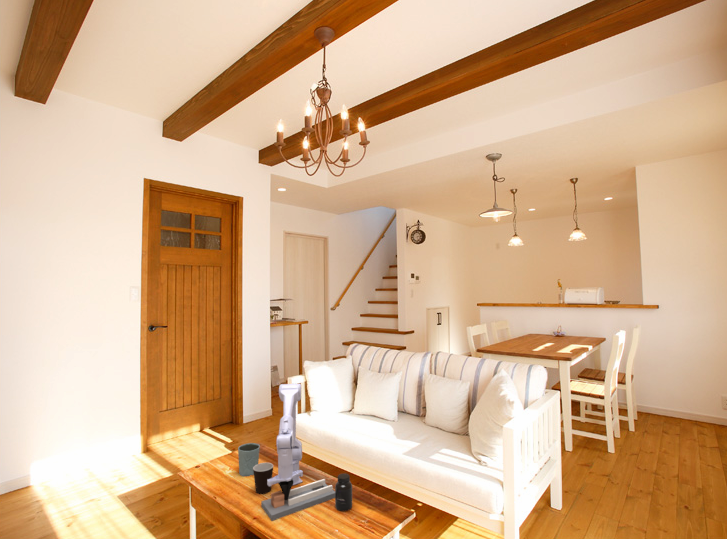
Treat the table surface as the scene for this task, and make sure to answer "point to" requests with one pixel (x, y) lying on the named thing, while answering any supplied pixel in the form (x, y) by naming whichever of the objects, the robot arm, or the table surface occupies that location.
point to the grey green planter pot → (248, 458)
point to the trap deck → (287, 510)
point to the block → (277, 499)
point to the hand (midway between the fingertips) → (285, 499)
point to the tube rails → (310, 494)
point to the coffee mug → (262, 477)
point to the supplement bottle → (343, 493)
